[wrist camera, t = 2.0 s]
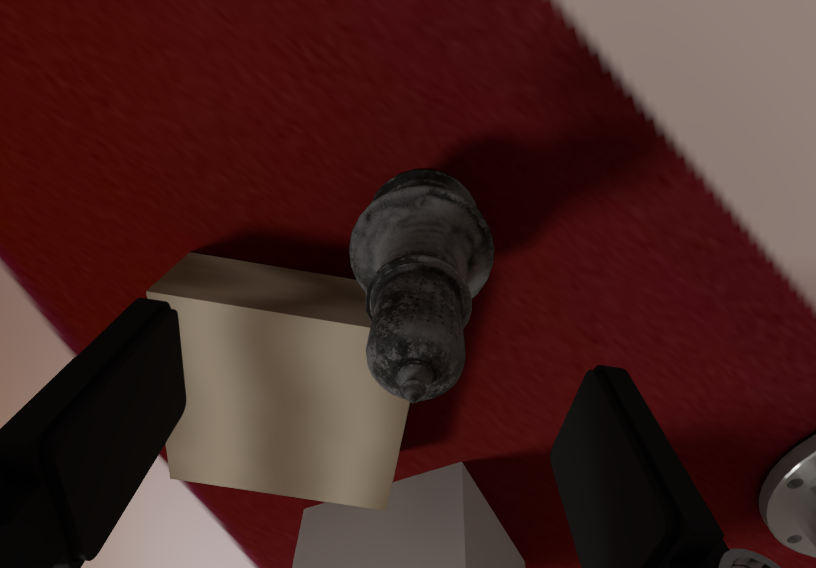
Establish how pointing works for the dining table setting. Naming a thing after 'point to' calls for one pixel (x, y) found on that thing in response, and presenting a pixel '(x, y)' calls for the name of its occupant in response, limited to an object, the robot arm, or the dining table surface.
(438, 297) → the black chess piece
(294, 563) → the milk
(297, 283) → the beech block
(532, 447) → the dining table surface
